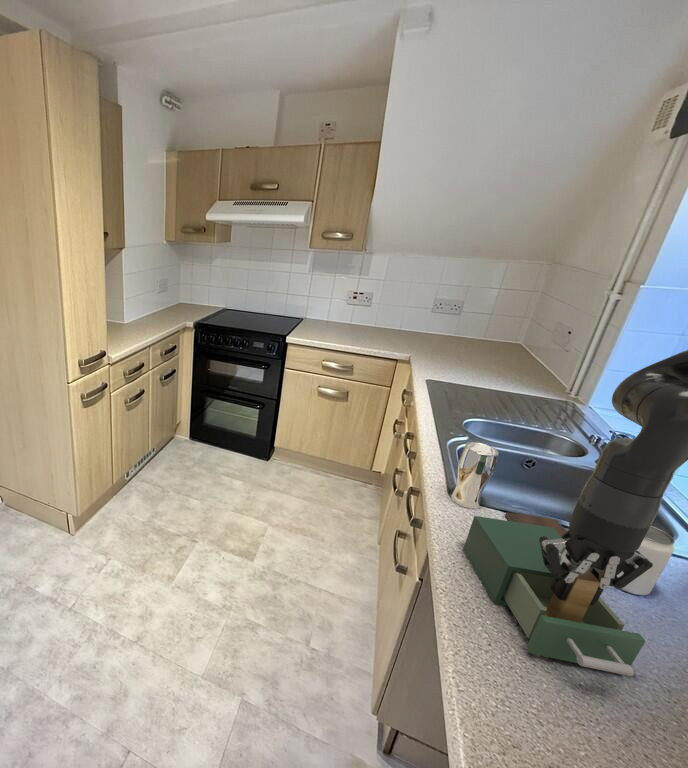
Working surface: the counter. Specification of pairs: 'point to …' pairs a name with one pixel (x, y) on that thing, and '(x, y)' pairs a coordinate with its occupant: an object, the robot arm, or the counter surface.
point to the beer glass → (474, 473)
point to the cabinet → (505, 552)
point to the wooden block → (574, 599)
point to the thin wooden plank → (536, 521)
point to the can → (651, 560)
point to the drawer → (571, 628)
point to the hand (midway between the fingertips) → (571, 597)
